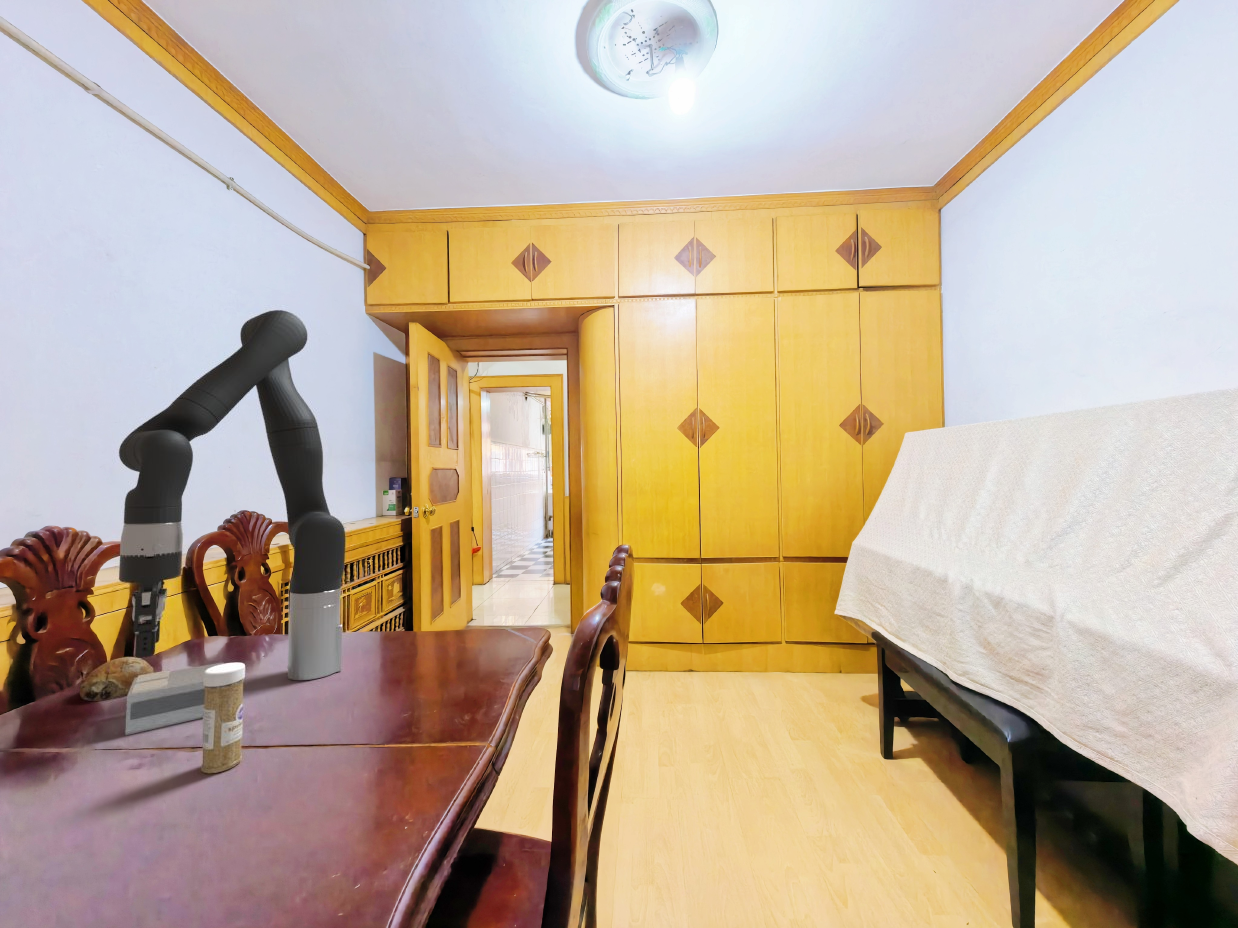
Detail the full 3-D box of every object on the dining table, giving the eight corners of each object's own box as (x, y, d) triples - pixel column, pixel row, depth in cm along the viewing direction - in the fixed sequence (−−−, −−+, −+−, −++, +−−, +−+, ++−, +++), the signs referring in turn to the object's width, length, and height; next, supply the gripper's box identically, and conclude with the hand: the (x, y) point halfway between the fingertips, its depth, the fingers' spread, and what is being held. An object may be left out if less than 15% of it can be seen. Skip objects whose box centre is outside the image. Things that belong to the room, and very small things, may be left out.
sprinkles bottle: (240, 767, 68) (244, 668, 69) (197, 778, 66) (201, 675, 66) (243, 753, 72) (246, 659, 73) (202, 763, 70) (206, 665, 70)
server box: (222, 694, 93) (223, 659, 93) (223, 713, 85) (224, 675, 85) (133, 713, 85) (134, 675, 86) (124, 736, 77) (126, 694, 78)
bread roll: (154, 707, 96) (176, 663, 100) (92, 703, 88) (118, 655, 91) (122, 700, 100) (145, 658, 103) (59, 696, 91) (86, 650, 95)
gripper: (126, 548, 85) (121, 644, 85) (113, 556, 74) (108, 666, 74) (184, 545, 90) (180, 635, 89) (180, 552, 79) (175, 656, 78)
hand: (147, 649), depth 81 cm, fingers open, 8 cm apart
